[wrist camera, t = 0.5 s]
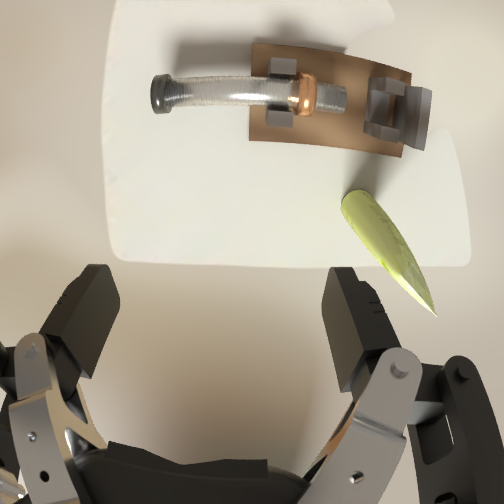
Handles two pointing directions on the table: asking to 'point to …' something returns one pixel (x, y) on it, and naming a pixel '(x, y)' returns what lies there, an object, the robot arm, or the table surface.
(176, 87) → the shaft
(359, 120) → the bearing board
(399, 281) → the tube
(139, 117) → the table surface
